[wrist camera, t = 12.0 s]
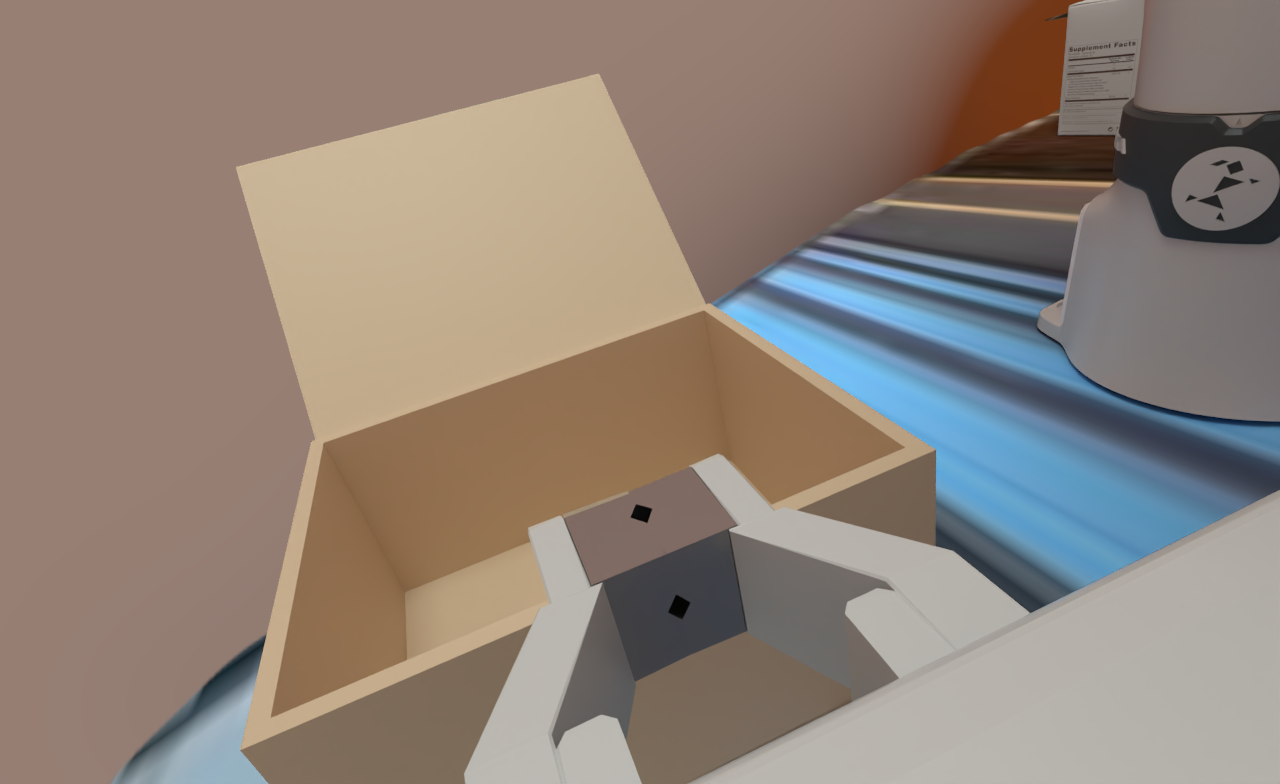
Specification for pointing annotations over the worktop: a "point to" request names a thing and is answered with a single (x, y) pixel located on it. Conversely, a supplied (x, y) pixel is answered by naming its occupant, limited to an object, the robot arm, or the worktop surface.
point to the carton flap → (461, 249)
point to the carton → (506, 565)
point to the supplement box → (1099, 65)
